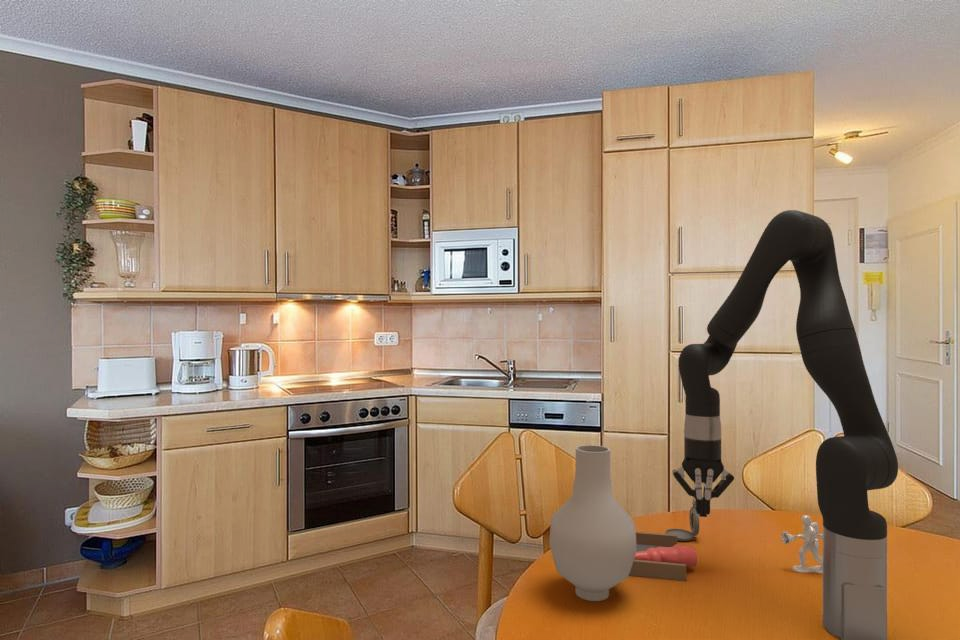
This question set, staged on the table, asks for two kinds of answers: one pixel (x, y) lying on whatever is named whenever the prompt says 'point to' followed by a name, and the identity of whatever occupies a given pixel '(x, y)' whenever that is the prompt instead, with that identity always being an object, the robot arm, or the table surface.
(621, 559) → the vase
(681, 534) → the pocket watch
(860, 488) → the robot arm
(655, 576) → the tray
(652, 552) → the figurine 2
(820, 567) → the figurine
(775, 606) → the table surface
